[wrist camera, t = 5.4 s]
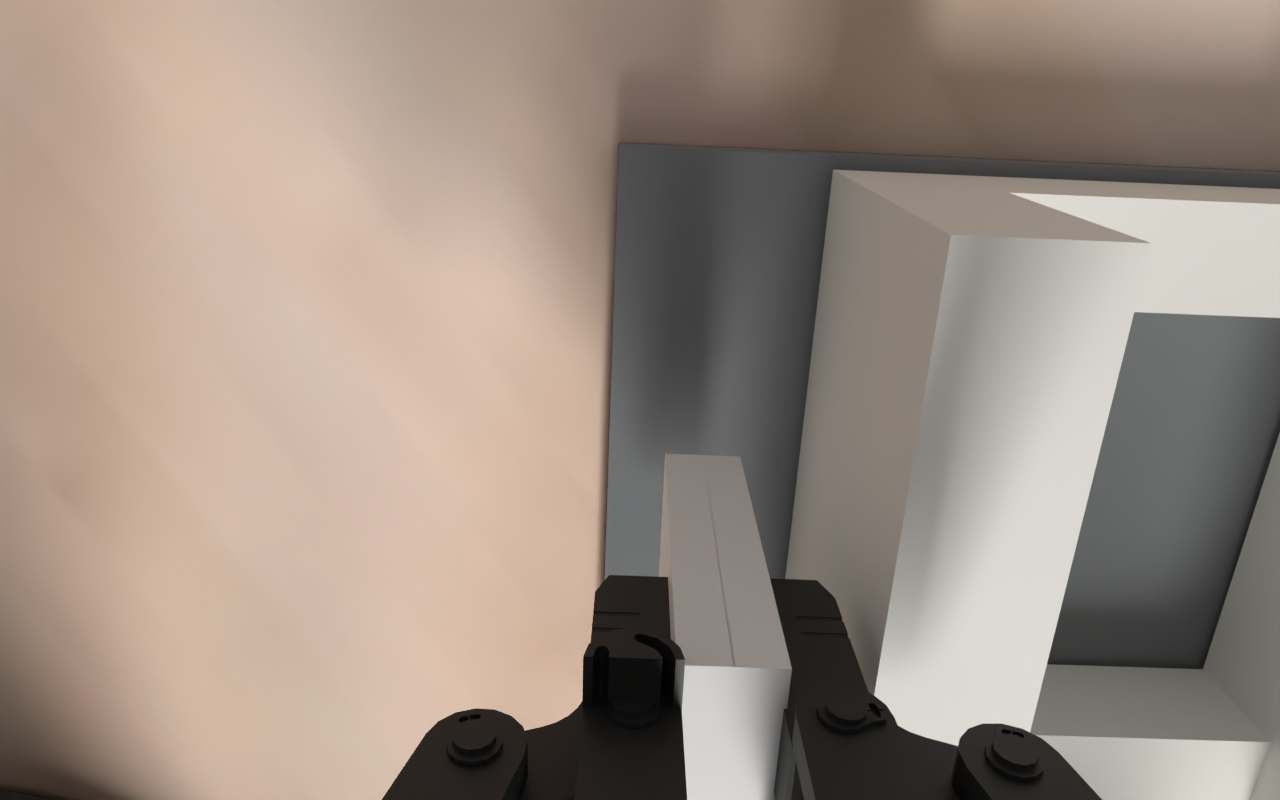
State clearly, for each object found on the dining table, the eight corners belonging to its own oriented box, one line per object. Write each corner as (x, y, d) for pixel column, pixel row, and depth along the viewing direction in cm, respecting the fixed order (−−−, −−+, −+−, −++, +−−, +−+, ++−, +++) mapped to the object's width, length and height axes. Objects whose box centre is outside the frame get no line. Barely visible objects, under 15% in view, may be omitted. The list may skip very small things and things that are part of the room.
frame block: (768, 721, 22) (823, 995, 16) (832, 169, 18) (951, 234, 11) (1278, 737, 23) (1541, 1013, 16) (1480, 197, 18) (1972, 278, 11)
